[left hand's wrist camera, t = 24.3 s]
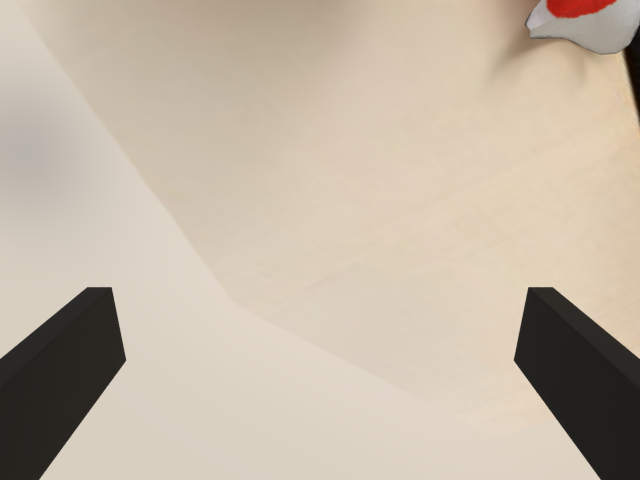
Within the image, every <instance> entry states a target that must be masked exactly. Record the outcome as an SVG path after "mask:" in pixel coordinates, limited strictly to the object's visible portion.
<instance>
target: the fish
mask: <svg viewBox="0 0 640 480" xmlns="http://www.w3.org/2000/svg"><path fill="white" fill-rule="evenodd" d="M639 24H640V0H541V1H540V2H539V3H538V4H537V6H536V7H535V8H534V9H533V11H532V12H531V13H530V15H529V17H528V19H527V20H526V22H525V25H526V26H527V27H528V28H529V30H530V38H535V39H550V38H560V39H568V40H570V41H572V42H574V43H575V44H577V45H580V46H582V47H584V48H586V49H588V50H590V51H592V52H595V53H598V54H601V55H603V54H616V53H618V52H620V51H621V50H623V49H624V48H625V47H626V46H628V45H629V44H630V42H631V41H632V39H633V37H634V36H635V34H636V31H637V29H638V27H639Z"/></svg>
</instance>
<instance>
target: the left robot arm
mask: <svg viewBox="0 0 640 480" xmlns="http://www.w3.org/2000/svg"><path fill="white" fill-rule="evenodd" d="M125 361H126V357H125V352H124V347H123V342H122V337H121V332H120V327H119V322H118V317H117V312H116V307H115V302H114V297H113V292H112V288H111V287H87V288H86V289H85V290H83V291H82V292H81V293H80V294H79V295H77V296H76V297H75V298H74V299H72V300H71V301H70V302H69V303H68V304H66V305H65V306H64V307H63V308H62V309H60V310H59V311H58V312H57V313H56V314H54V315H53V316H52V317H51V318H50V319H48V320H47V321H46V322H45V323H43V324H42V325H41V326H40V327H39V328H37V329H36V330H35V331H34V332H33V333H31V334H30V335H29V336H28V337H26V338H25V339H24V340H23V341H22V342H20V343H19V344H18V345H17V346H15V347H14V348H13V349H12V350H11V351H9V352H8V353H7V354H6V355H5V356H3V357H2V358H1V359H0V480H39V479H40V478H41V476H42V475H43V473H44V472H45V471H46V470H47V468H48V467H49V465H50V464H51V463H52V461H53V460H54V459H55V457H56V456H57V454H58V453H59V452H60V450H61V449H62V448H63V446H64V445H65V443H66V442H67V441H68V439H69V438H70V437H71V435H72V434H73V433H74V431H75V430H76V428H77V427H78V426H79V424H80V423H81V422H82V420H83V419H84V418H85V416H86V415H87V413H88V412H89V411H90V409H91V408H92V407H93V405H94V404H95V403H96V401H97V400H98V398H99V397H100V396H101V394H102V393H103V392H104V390H105V389H106V387H107V386H108V385H109V383H110V382H111V381H112V379H113V378H114V376H115V375H116V374H117V372H118V371H119V370H120V368H121V367H122V366H123V364H124V363H125ZM514 361H515V363H516V364H517V366H518V367H519V368H520V370H521V371H522V372H523V374H524V375H525V377H526V378H527V379H528V381H529V382H530V383H531V385H532V386H533V387H534V389H535V390H536V392H537V393H538V394H539V396H540V397H541V398H542V400H543V401H544V403H545V404H546V405H547V407H548V408H549V409H550V411H551V412H552V413H553V415H554V416H555V418H556V419H557V420H558V422H559V423H560V424H561V426H562V427H563V428H564V430H565V431H566V433H567V434H568V435H569V437H570V438H571V439H572V441H573V442H574V444H575V445H576V446H577V448H578V449H579V450H580V452H581V453H582V454H583V456H584V457H585V459H586V460H587V461H588V463H589V464H590V465H591V467H592V468H593V470H594V471H595V472H596V474H597V475H598V476H599V478H600V479H601V480H640V359H639V358H638V357H637V356H635V355H634V354H633V353H632V352H631V351H629V350H628V349H627V348H626V347H625V346H623V345H622V344H621V343H620V342H618V341H617V340H616V339H615V338H614V337H612V336H611V335H610V334H609V333H608V332H606V331H605V330H604V329H603V328H601V327H600V326H599V325H598V324H597V323H595V322H594V321H593V320H592V319H591V318H589V317H588V316H587V315H586V314H584V313H583V312H582V311H581V310H580V309H578V308H577V307H576V306H575V305H574V304H572V303H571V302H570V301H569V300H568V299H566V298H565V297H564V296H563V295H561V294H560V293H559V292H558V291H557V290H555V289H554V288H553V287H528V292H527V297H526V302H525V307H524V312H523V317H522V322H521V327H520V332H519V337H518V342H517V347H516V352H515V357H514Z"/></svg>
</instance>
